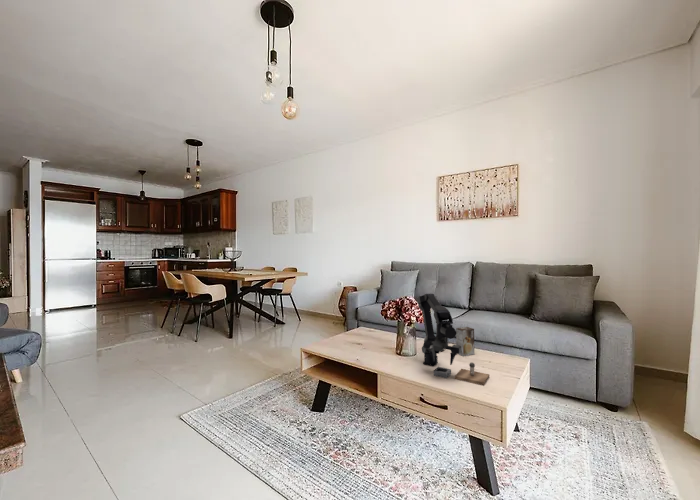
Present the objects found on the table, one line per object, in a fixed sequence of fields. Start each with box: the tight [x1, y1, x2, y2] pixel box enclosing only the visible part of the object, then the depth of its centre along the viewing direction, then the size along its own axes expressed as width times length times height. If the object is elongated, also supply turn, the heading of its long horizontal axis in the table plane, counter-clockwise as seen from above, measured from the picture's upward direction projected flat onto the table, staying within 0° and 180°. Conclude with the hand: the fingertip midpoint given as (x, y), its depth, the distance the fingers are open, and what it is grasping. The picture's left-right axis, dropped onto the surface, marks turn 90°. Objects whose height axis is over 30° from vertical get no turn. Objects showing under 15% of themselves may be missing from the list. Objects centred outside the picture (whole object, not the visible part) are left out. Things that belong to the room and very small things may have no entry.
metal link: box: [433, 366, 452, 379], centre depth 166 cm, size 7×7×2 cm
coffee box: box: [455, 326, 476, 357], centre depth 199 cm, size 9×6×16 cm
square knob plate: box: [454, 362, 490, 386], centre depth 162 cm, size 14×12×8 cm
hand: (442, 363), depth 167 cm, fingers open, 9 cm apart
